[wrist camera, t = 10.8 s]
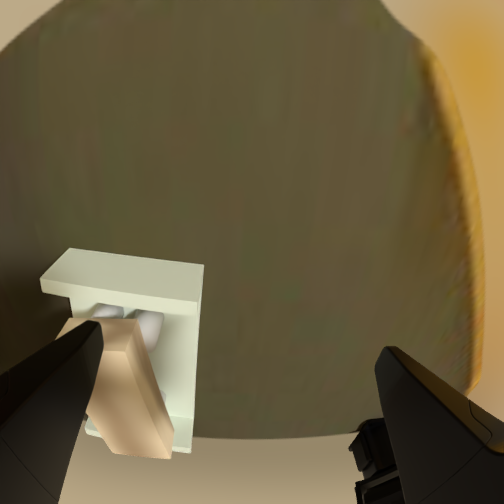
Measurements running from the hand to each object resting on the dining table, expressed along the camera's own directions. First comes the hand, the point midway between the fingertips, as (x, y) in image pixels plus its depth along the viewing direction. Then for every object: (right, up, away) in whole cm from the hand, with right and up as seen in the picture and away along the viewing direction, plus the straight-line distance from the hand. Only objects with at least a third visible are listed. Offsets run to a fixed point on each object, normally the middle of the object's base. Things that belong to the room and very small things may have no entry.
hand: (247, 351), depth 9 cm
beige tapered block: (-9, -7, +11) cm, 16 cm away
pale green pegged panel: (-9, -5, +15) cm, 18 cm away
